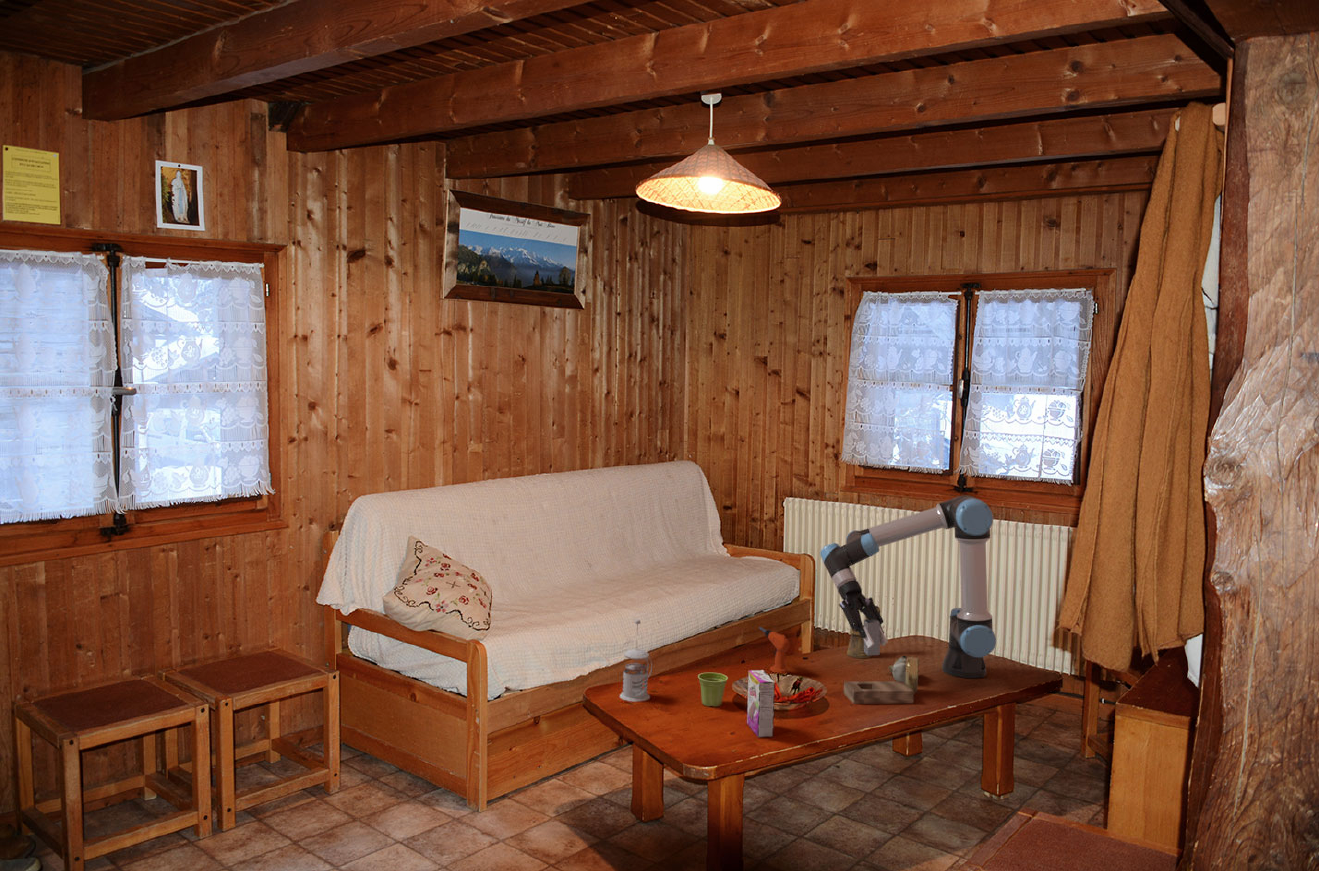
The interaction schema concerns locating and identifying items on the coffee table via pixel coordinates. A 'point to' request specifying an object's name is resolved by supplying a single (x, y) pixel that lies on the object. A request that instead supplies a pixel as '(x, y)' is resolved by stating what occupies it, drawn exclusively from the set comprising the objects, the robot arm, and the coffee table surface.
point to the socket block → (878, 692)
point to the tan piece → (857, 644)
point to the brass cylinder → (912, 673)
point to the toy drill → (778, 649)
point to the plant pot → (712, 688)
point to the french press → (635, 676)
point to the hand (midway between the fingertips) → (878, 644)
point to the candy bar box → (760, 703)
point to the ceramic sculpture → (899, 669)
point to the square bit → (873, 636)
